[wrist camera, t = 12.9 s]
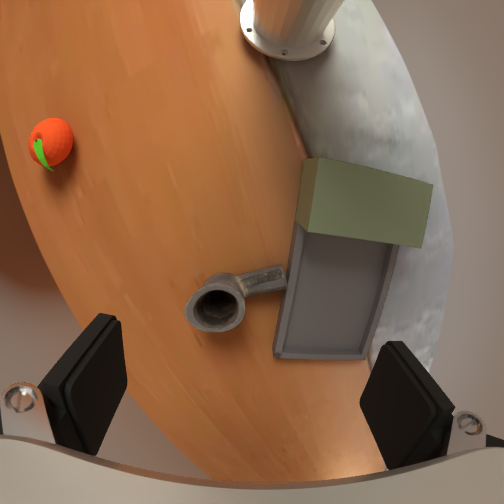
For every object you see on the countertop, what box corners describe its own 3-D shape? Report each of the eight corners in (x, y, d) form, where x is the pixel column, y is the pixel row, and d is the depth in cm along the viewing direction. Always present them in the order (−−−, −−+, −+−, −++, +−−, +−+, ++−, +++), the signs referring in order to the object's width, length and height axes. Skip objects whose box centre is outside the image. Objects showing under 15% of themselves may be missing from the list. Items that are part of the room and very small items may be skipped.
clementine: (88, 160, 36) (61, 160, 29) (54, 179, 36) (25, 183, 29) (76, 112, 33) (49, 105, 27) (43, 133, 34) (15, 130, 27)
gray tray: (303, 159, 37) (318, 157, 29) (402, 180, 38) (433, 184, 30) (272, 348, 44) (277, 381, 36) (360, 351, 45) (377, 380, 37)
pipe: (287, 287, 41) (297, 313, 34) (201, 310, 42) (193, 339, 34) (277, 247, 40) (285, 265, 32) (187, 272, 40) (175, 295, 33)
